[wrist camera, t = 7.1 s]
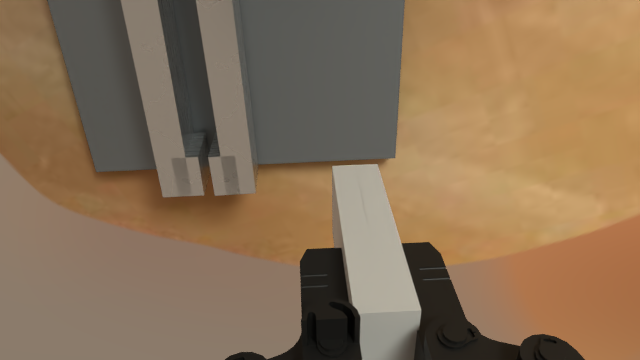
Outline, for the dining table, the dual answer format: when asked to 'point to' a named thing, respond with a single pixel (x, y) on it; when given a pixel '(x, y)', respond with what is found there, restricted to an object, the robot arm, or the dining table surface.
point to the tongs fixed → (166, 98)
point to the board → (263, 75)
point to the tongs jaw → (228, 98)
